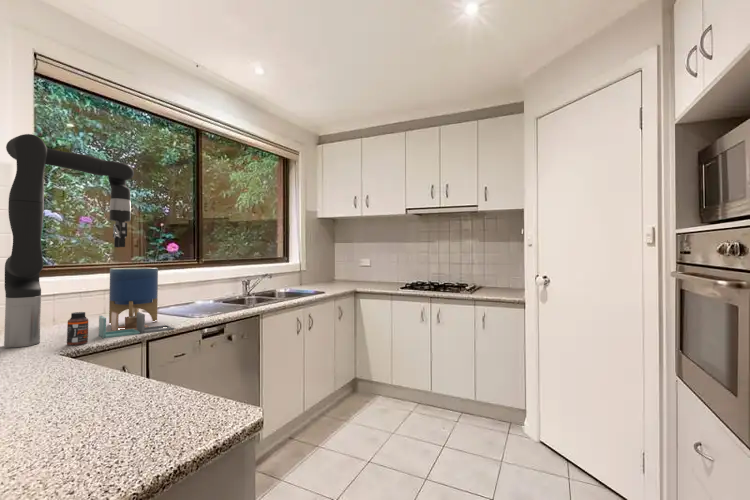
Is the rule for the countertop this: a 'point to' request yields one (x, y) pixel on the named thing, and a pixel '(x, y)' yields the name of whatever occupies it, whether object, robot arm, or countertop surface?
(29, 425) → the countertop surface
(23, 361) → the countertop surface
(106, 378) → the countertop surface
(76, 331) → the supplement bottle
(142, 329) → the gray bookend
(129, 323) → the letter cube
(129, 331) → the tray teal
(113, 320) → the pale pink holder
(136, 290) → the planter
